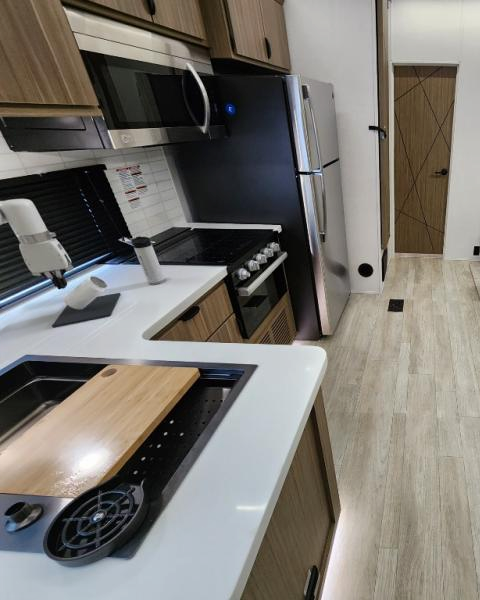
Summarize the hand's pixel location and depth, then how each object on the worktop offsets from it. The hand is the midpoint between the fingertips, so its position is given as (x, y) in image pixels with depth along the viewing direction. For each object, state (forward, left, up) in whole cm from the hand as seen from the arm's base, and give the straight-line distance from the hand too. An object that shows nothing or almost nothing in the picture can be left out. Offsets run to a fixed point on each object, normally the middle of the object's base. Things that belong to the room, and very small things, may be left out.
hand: (62, 287), depth 118 cm
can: (0, 0, -7) cm, 7 cm away
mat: (+4, 0, -10) cm, 11 cm away
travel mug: (+24, +17, -10) cm, 31 cm away
